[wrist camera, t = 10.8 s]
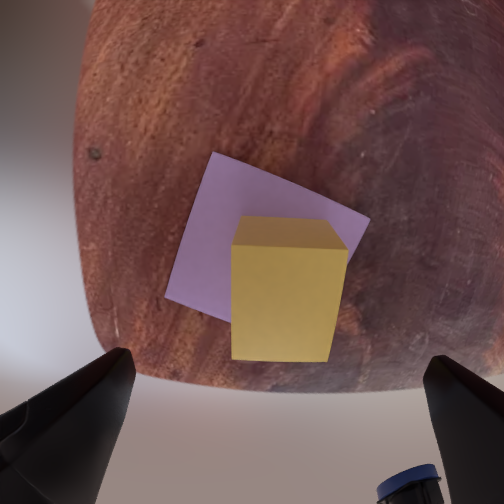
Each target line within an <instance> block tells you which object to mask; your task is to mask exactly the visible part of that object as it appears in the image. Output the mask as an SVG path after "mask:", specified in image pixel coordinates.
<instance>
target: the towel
mask: <svg viewBox="0 0 504 504" xmlns="http://www.w3.org/2000/svg"><path fill="white" fill-rule="evenodd" d="M241 216H262V217H284V218H303V219H320V220H327V221H328V222H329V223H330V225H331V226H332V227H333V229H334V230H335V232H336V233H337V234H338V236H339V237H340V238H341V240H342V241H343V243H344V244H345V245H346V247H347V248H348V250H349V254H348V260H347V264H348V263H349V261H350V259H351V257H352V255H353V253H354V251H355V249H356V247H357V246H358V244H359V242H360V240H361V238H362V236H363V234H364V232H365V230H366V228H367V226H368V224H369V222H370V220H371V219H370V218H369V217H367V216H365V215H362V214H360V213H358V212H356V211H354V210H352V209H350V208H348V207H346V206H344V205H342V204H340V203H337V202H335V201H333V200H331V199H329V198H327V197H324V196H322V195H320V194H318V193H316V192H313V191H311V190H309V189H307V188H304V187H302V186H300V185H297V184H295V183H293V182H290V181H288V180H286V179H283V178H281V177H279V176H276V175H274V174H271V173H269V172H266V171H264V170H261V169H259V168H256V167H254V166H251V165H249V164H246V163H244V162H241V161H239V160H236V159H233V158H231V157H228V156H225V155H223V154H220V153H217V152H212V155H211V157H210V160H209V162H208V165H207V168H206V171H205V173H204V176H203V179H202V181H201V184H200V187H199V190H198V193H197V195H196V198H195V201H194V204H193V207H192V210H191V213H190V216H189V219H188V222H187V225H186V228H185V231H184V234H183V237H182V240H181V243H180V246H179V250H178V253H177V256H176V259H175V263H174V266H173V269H172V273H171V276H170V279H169V283H168V286H167V290H166V293H165V298H168V299H170V300H173V301H175V302H177V303H180V304H182V305H185V306H188V307H190V308H193V309H195V310H198V311H200V312H203V313H206V314H208V315H211V316H214V317H216V318H219V319H222V320H224V321H227V322H230V323H231V244H232V241H233V238H234V235H235V232H236V229H237V226H238V223H239V220H240V217H241Z"/></svg>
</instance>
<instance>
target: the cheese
mask: <svg viewBox="0 0 504 504" xmlns="http://www.w3.org/2000/svg"><path fill="white" fill-rule="evenodd" d="M348 254H349V250H348V248H347V247H346V245H345V244H344V243H343V241H342V240H341V238H340V237H339V236H338V234H337V233H336V232H335V230H334V229H333V227H332V226H331V225H330V223H329V222H328V221H327V220H320V219H303V218H284V217H262V216H241V217H240V220H239V223H238V226H237V229H236V232H235V235H234V238H233V241H232V244H231V349H232V359H235V360H252V361H277V362H327V361H328V357H329V353H330V349H331V344H332V340H333V335H334V331H335V326H336V321H337V316H338V311H339V306H340V301H341V296H342V290H343V285H344V279H345V273H346V267H347V260H348Z"/></svg>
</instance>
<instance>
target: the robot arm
mask: <svg viewBox="0 0 504 504" xmlns="http://www.w3.org/2000/svg"><path fill="white" fill-rule="evenodd" d="M135 377H136V369H135V365H134V362H133V358H132V354H131V351H130V350H129V349H126V348H120V347H116V348H114V349H112V350H111V351H109V352H107V353H106V354H104V355H102V356H101V357H99V358H97V359H96V360H94V361H92V362H91V363H89V364H87V365H86V366H84V367H82V368H81V369H79V370H77V371H76V372H74V373H73V374H71V375H69V376H67V377H66V378H64V379H62V380H60V381H59V382H57V383H55V384H54V385H52V386H50V387H49V388H47V389H45V390H44V391H42V392H40V393H39V394H37V395H35V396H33V397H32V398H30V399H28V401H25V402H23V403H21V404H20V405H18V406H16V407H15V408H13V409H11V410H9V411H7V412H5V413H4V414H1V415H0V504H95V502H96V499H97V496H98V492H99V489H100V486H101V483H102V480H103V477H104V475H105V471H106V469H107V466H108V463H109V460H110V457H111V454H112V451H113V449H114V446H115V443H116V441H117V437H118V435H119V433H120V430H121V427H122V425H123V422H124V419H125V415H126V412H127V407H128V404H129V400H130V396H131V392H132V388H133V384H134V381H135ZM423 384H424V388H425V393H426V397H427V402H428V407H429V412H430V417H431V421H432V425H433V429H434V432H435V436H436V439H437V443H438V446H439V450H440V454H441V458H442V462H443V466H444V470H445V475H446V479H447V484H448V488H449V493H450V498H451V504H504V392H503V391H501V390H500V389H498V388H497V387H495V386H493V385H492V384H490V383H489V382H487V381H486V380H484V379H482V378H481V377H479V376H478V375H476V374H475V373H473V372H471V371H470V370H468V369H467V368H465V367H463V366H462V365H460V364H459V363H457V362H455V361H454V360H452V359H451V358H449V357H447V356H446V355H438V356H434V357H433V358H432V359H431V361H430V363H429V365H428V367H427V369H426V372H425V374H424V376H423ZM439 481H441V477H437V478H430V479H423V480H415V481H410V482H408V483H407V484H405V485H404V486H402V487H400V488H399V489H397V490H396V491H394V492H393V493H391V494H389V495H388V496H386V497H384V498H383V499H381V500H379V501H377V504H444V500H443V497H442V493H441V490H440V487H439V484H438V482H439Z"/></svg>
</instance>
